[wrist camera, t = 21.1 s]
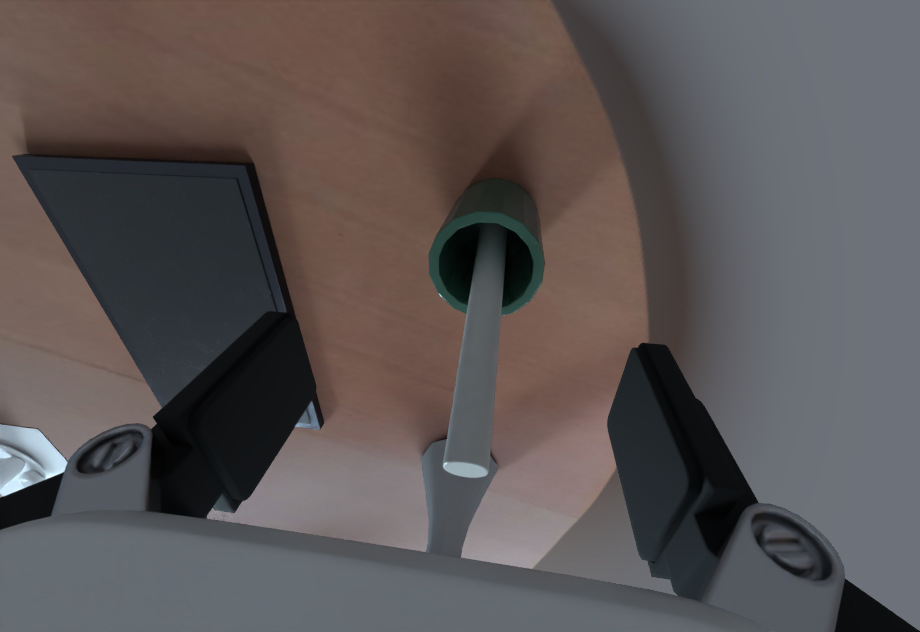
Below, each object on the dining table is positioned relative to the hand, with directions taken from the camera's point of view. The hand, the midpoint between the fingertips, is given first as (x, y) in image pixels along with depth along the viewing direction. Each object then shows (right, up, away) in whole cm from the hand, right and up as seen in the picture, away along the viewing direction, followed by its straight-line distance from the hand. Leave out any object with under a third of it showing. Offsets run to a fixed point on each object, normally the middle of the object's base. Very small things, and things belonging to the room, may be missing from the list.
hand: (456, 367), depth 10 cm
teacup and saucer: (-61, -20, +41) cm, 77 cm away
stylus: (+2, +8, +12) cm, 14 cm away
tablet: (-22, +2, +20) cm, 30 cm away
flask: (0, -13, +26) cm, 29 cm away
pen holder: (+2, +7, +13) cm, 15 cm away
